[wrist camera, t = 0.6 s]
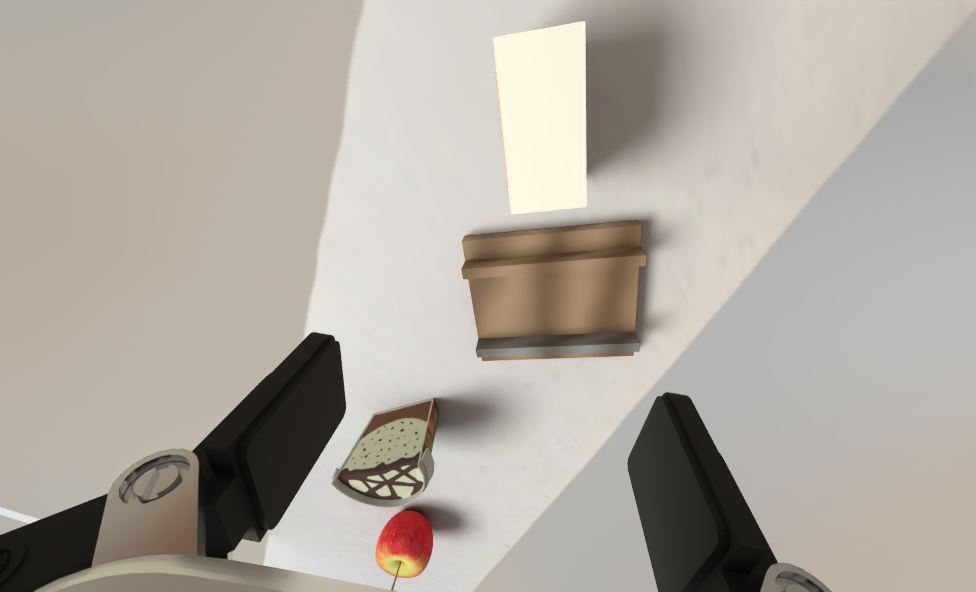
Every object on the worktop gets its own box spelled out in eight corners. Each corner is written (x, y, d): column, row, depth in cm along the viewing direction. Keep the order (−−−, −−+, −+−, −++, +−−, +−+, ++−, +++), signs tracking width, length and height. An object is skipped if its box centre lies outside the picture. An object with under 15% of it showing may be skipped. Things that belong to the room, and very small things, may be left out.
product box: (571, 45, 27) (585, 20, 19) (573, 181, 32) (586, 206, 24) (502, 56, 28) (489, 38, 20) (515, 187, 33) (508, 214, 25)
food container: (388, 446, 51) (357, 517, 42) (364, 416, 49) (327, 484, 40) (465, 428, 48) (449, 501, 39) (444, 394, 45) (422, 464, 36)
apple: (385, 522, 60) (359, 593, 52) (394, 494, 56) (367, 566, 47) (432, 536, 61) (414, 609, 52) (444, 509, 57) (427, 583, 48)
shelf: (637, 220, 33) (648, 232, 29) (630, 347, 39) (638, 367, 36) (464, 236, 35) (457, 248, 32) (484, 352, 41) (479, 372, 38)
